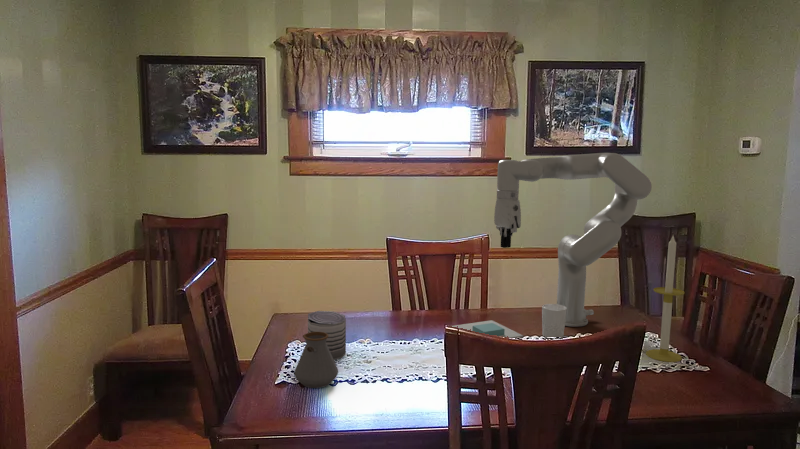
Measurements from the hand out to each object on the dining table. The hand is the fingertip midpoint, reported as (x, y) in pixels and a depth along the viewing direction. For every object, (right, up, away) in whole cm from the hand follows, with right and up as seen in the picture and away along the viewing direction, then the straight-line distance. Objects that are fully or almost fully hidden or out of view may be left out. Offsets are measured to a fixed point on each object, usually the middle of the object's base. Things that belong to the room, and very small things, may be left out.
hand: (505, 247), depth 203 cm
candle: (+43, -32, -29) cm, 61 cm away
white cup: (+14, -29, -12) cm, 34 cm away
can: (-59, -31, -31) cm, 74 cm away
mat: (-9, -29, -9) cm, 31 cm away
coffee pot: (-59, -35, -56) cm, 88 cm away
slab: (-9, -27, -8) cm, 30 cm away
